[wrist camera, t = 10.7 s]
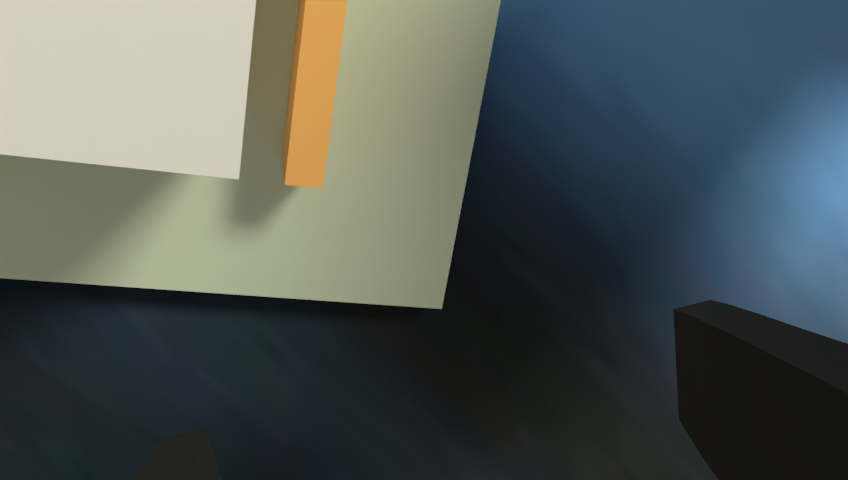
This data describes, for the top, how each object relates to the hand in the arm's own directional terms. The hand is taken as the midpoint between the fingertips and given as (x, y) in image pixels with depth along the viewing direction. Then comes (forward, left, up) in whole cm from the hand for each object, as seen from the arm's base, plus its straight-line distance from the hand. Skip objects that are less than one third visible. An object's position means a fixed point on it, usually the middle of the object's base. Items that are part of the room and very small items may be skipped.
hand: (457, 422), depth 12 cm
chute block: (+6, -5, -8) cm, 11 cm away
